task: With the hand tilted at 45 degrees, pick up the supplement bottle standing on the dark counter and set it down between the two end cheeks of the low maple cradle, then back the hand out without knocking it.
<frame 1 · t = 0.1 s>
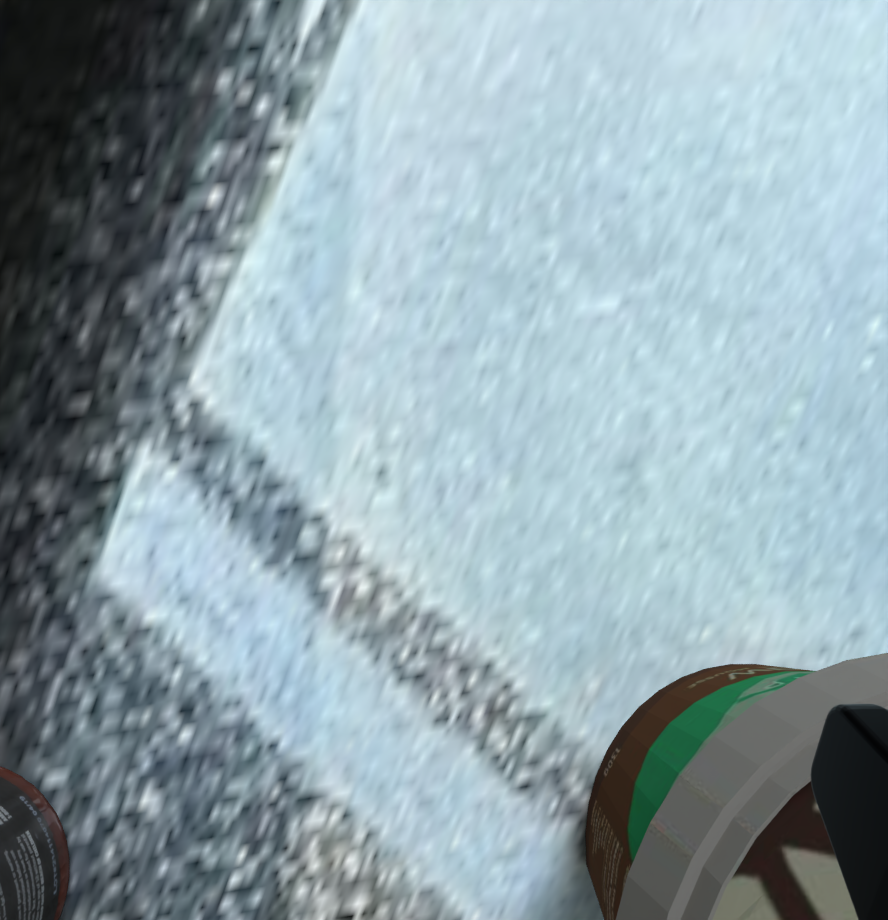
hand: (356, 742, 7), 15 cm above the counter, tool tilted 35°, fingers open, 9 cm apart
food container: (735, 731, 22), on the counter
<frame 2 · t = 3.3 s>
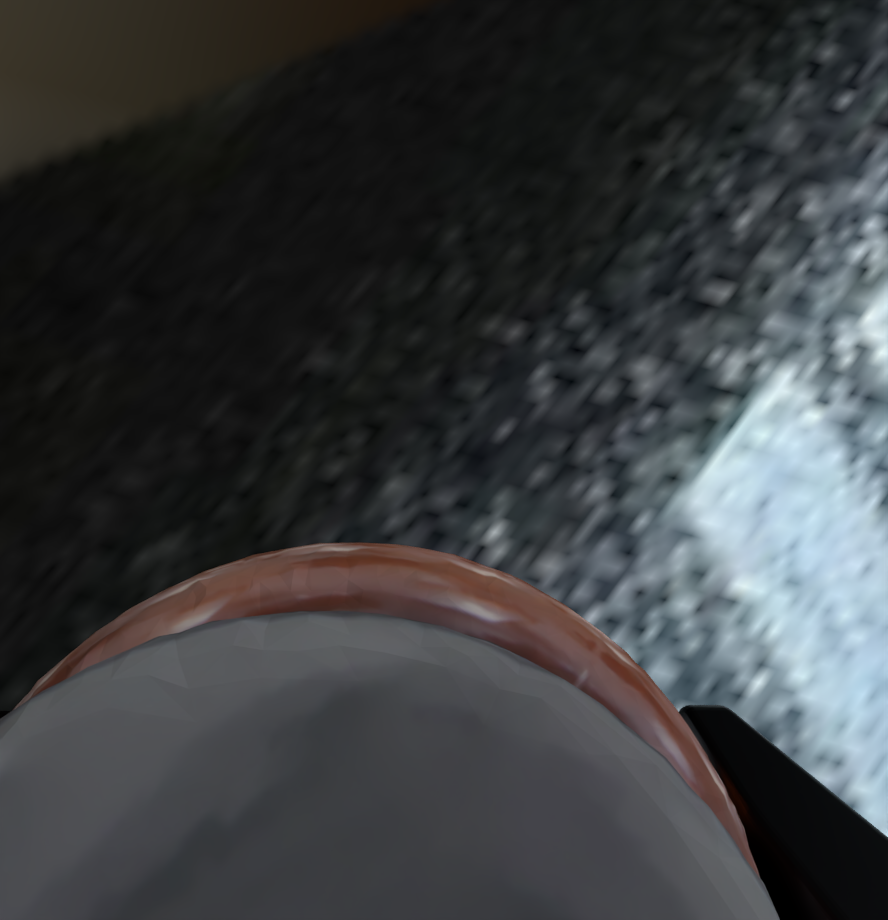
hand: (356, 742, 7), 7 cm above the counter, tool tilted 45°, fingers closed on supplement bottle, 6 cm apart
supplement bottle: (376, 832, 13), on the counter, touching gripper
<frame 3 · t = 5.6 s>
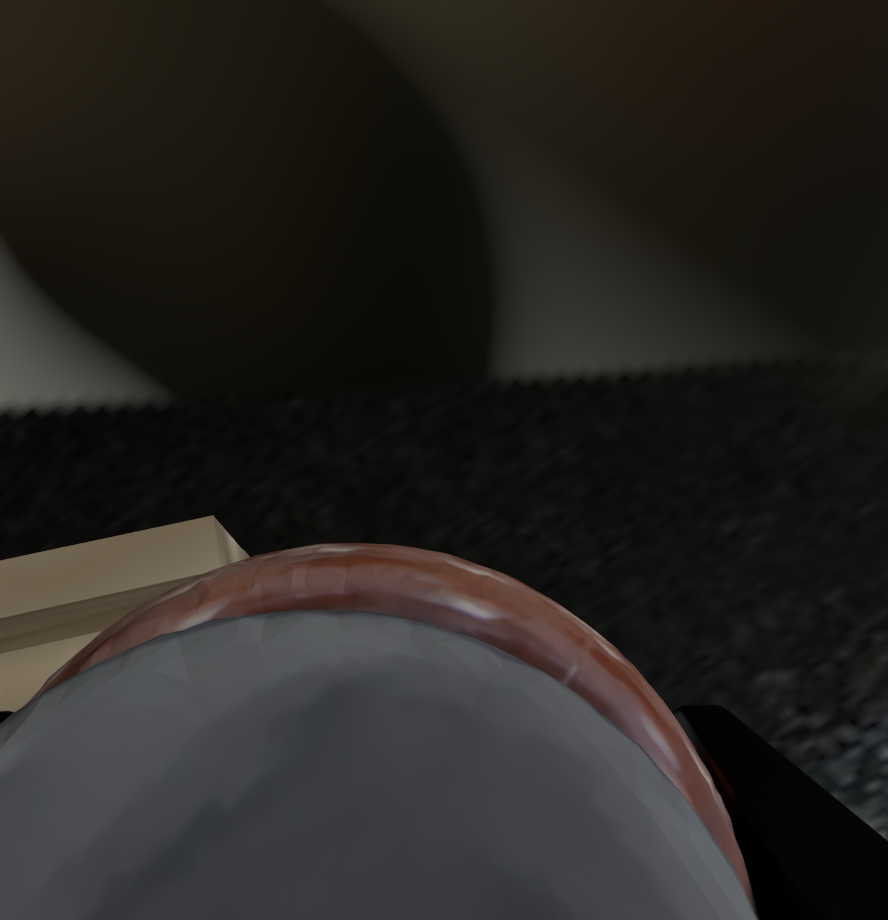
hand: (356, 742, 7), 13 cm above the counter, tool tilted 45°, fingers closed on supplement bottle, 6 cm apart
cradle: (120, 813, 19), on the counter
supplement bottle: (379, 827, 14), point 6 cm above the counter, touching gripper
when the fingers open (9 cm above the counter, at t = 7.5 s): supplement bottle stays where it is, resting on cradle.
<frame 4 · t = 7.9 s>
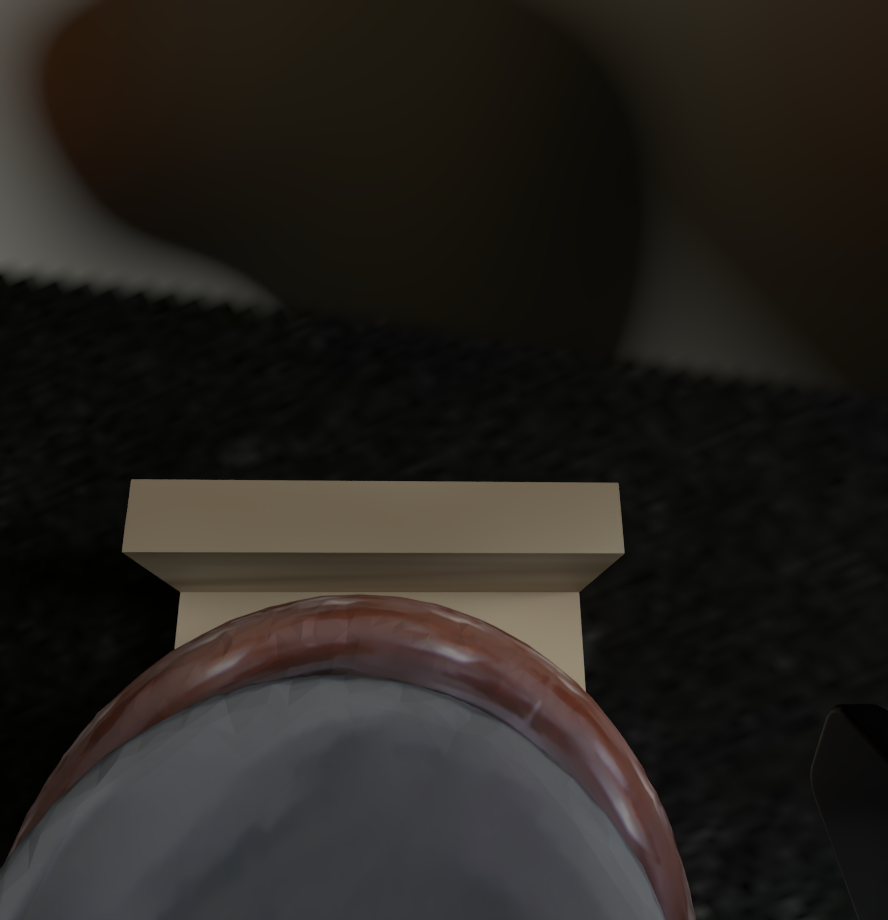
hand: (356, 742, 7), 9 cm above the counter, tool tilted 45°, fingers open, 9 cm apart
cradle: (379, 818, 15), on the counter
supplement bottle: (376, 833, 15), point 1 cm above the counter, touching cradle
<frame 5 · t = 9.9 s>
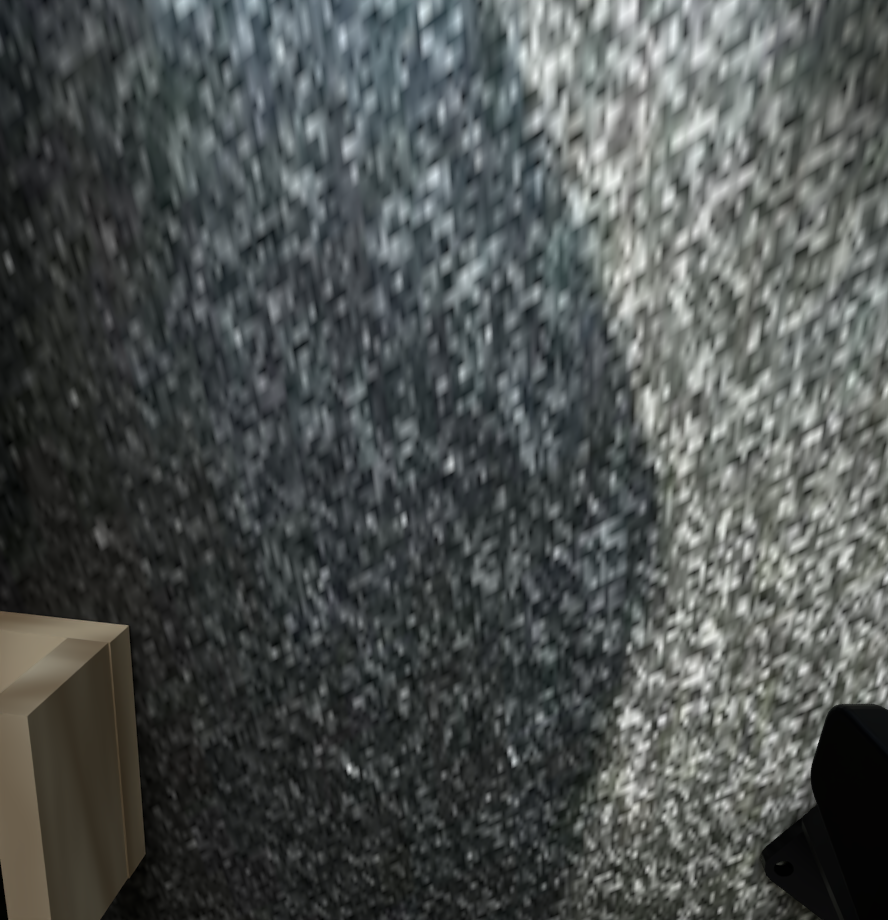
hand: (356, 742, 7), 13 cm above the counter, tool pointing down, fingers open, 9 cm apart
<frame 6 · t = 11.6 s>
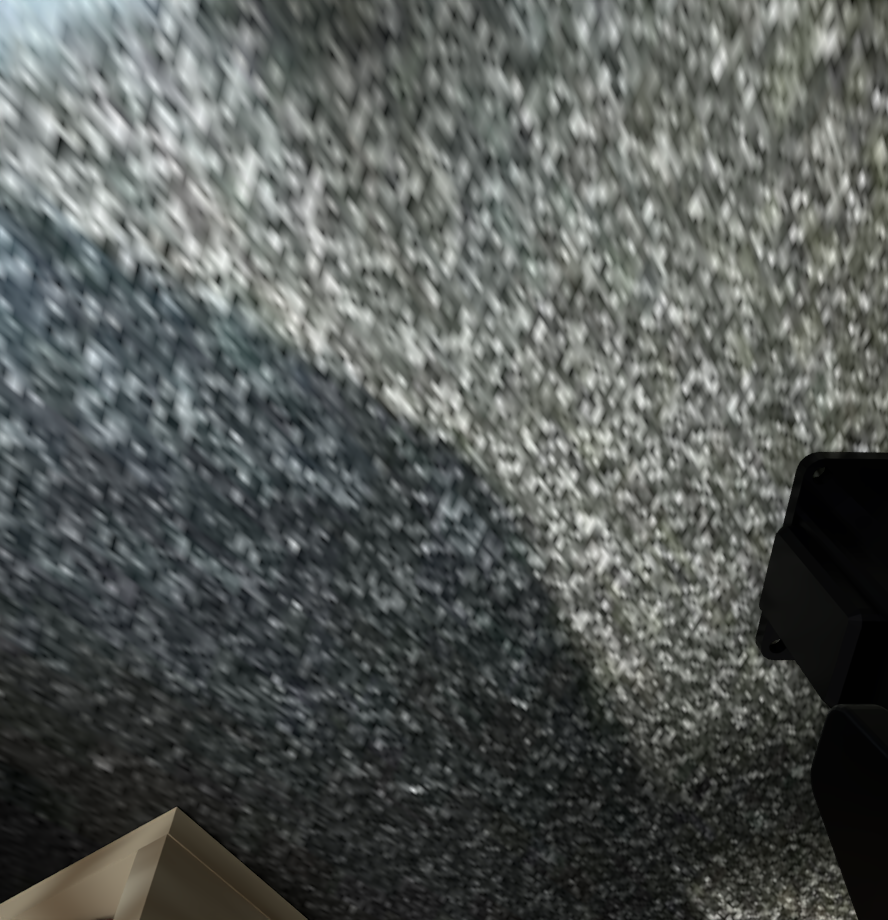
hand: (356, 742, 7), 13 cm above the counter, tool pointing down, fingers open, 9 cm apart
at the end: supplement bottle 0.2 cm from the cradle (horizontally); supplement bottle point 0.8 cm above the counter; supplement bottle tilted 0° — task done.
